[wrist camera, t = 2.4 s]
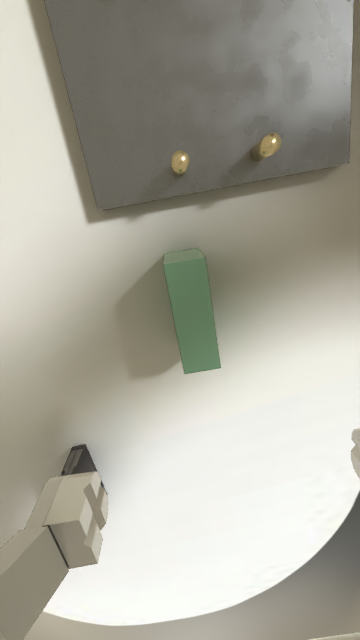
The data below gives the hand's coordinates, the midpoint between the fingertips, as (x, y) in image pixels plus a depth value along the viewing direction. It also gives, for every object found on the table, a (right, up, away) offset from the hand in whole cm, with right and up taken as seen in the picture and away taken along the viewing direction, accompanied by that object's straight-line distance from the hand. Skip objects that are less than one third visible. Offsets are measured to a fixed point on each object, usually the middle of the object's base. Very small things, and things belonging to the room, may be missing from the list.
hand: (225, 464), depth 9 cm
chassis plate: (0, +23, +12) cm, 26 cm away
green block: (-1, +7, +18) cm, 20 cm away
